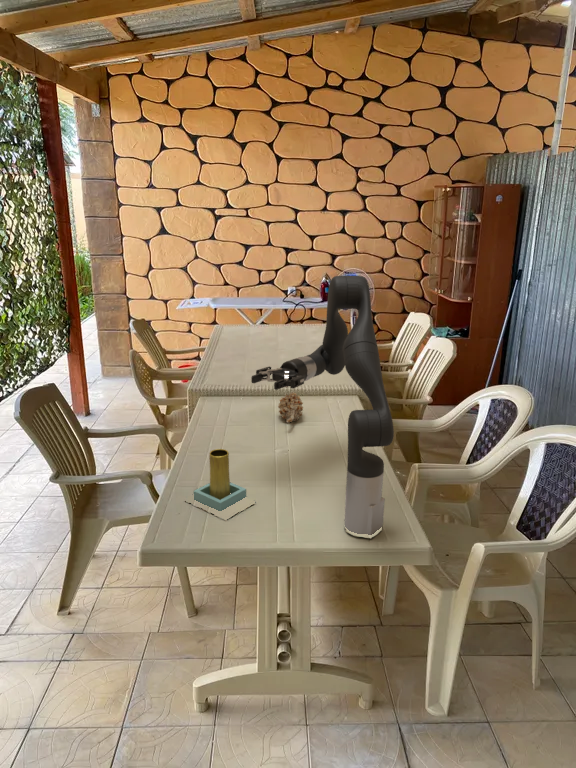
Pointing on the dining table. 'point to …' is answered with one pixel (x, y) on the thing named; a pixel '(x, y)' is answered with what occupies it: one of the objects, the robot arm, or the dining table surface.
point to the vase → (219, 473)
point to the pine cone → (291, 407)
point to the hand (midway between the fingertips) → (263, 383)
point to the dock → (205, 498)
